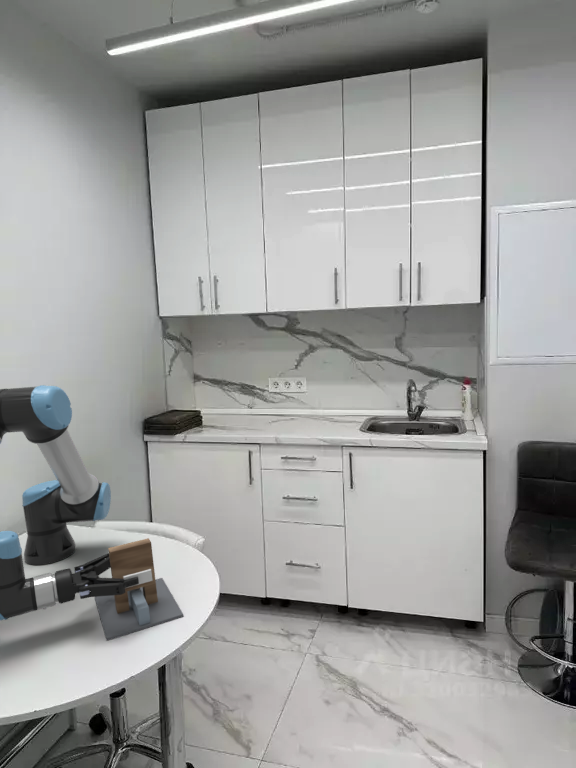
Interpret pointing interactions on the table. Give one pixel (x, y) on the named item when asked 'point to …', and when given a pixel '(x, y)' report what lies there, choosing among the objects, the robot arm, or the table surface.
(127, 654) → the table surface
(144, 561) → the brown notched block
